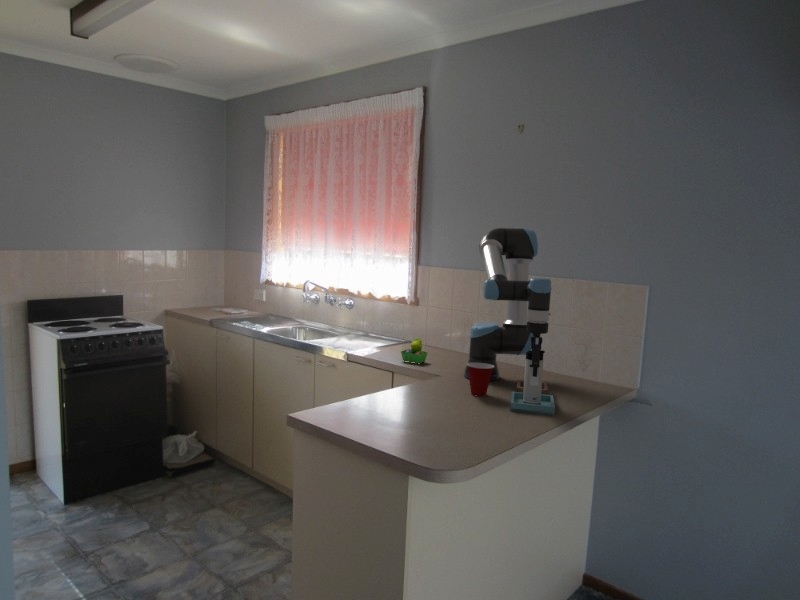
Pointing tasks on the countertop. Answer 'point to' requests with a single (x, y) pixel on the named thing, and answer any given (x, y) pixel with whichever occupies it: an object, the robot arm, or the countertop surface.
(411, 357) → the fruit basket
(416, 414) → the countertop surface
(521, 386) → the open wooden box
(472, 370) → the plastic cup
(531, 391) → the travel mug
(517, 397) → the tray
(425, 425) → the countertop surface
